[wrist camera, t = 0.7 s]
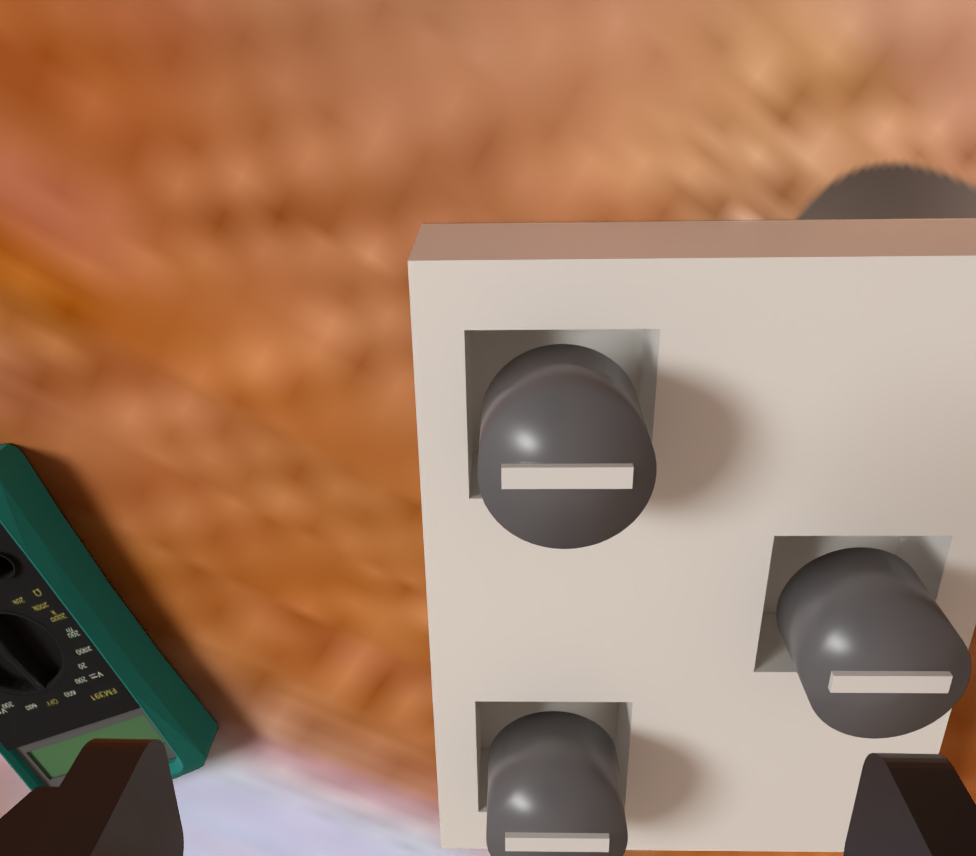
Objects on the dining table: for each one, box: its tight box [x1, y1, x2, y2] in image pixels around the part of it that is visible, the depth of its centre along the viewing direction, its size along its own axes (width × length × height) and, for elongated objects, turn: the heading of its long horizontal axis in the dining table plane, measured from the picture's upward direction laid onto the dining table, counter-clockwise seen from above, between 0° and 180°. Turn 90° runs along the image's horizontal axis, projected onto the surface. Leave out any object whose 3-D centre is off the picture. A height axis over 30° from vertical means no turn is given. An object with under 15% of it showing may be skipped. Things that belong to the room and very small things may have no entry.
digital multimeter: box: [0, 444, 218, 791], centre depth 32 cm, size 7×15×3 cm, turn 22°
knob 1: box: [477, 344, 657, 549], centre depth 23 cm, size 4×4×3 cm
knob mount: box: [408, 218, 976, 852], centre depth 29 cm, size 22×17×4 cm
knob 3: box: [776, 547, 971, 739], centre depth 26 cm, size 4×4×3 cm
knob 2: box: [486, 711, 628, 856], centre depth 29 cm, size 4×4×3 cm
